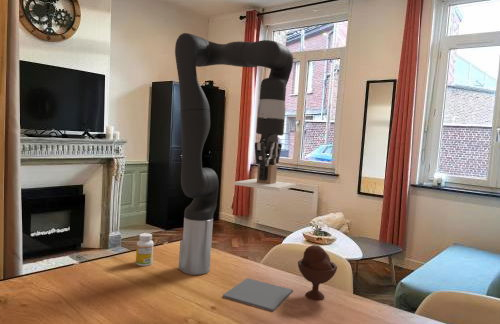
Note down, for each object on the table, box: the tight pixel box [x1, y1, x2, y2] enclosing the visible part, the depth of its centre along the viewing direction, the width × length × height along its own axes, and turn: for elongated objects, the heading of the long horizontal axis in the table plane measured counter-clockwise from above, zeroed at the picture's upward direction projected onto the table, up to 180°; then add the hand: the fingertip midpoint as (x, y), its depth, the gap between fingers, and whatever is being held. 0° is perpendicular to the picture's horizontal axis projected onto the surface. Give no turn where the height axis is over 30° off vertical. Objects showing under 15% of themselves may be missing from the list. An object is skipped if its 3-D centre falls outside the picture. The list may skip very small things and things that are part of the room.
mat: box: [222, 277, 294, 312], centre depth 105 cm, size 15×15×1 cm
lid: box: [234, 164, 297, 192], centre depth 102 cm, size 13×13×6 cm
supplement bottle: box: [135, 232, 155, 267], centre depth 123 cm, size 5×5×10 cm
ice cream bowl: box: [297, 244, 338, 302], centre depth 106 cm, size 11×11×15 cm
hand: (266, 179), depth 102 cm, fingers closed on lid, 4 cm apart
